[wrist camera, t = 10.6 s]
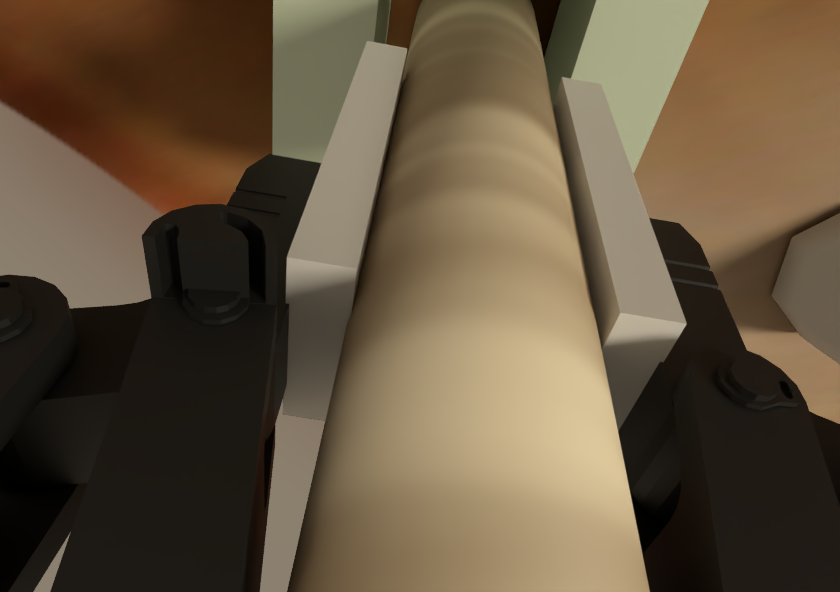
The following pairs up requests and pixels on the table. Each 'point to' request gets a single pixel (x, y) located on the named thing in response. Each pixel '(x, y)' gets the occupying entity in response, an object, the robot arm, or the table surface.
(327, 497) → the beech peg
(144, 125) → the table surface
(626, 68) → the socket board
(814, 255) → the flask
